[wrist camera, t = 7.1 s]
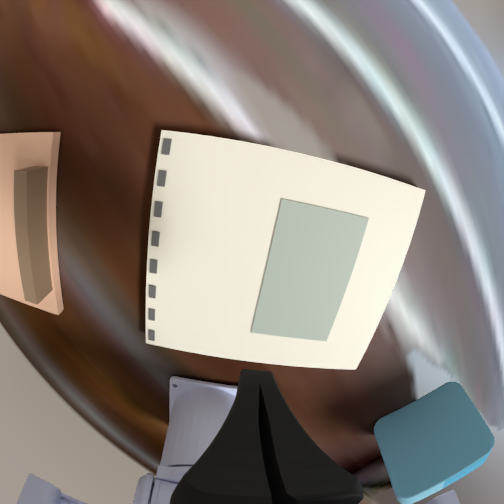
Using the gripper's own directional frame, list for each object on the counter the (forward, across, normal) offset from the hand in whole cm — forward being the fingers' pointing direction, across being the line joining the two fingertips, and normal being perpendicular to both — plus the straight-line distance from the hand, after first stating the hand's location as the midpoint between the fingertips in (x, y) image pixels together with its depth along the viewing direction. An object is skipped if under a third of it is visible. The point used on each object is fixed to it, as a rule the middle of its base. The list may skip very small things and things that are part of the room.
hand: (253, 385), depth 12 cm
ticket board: (+9, -2, -2) cm, 10 cm away
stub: (+9, +20, -3) cm, 22 cm away
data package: (+10, -23, +15) cm, 29 cm away
